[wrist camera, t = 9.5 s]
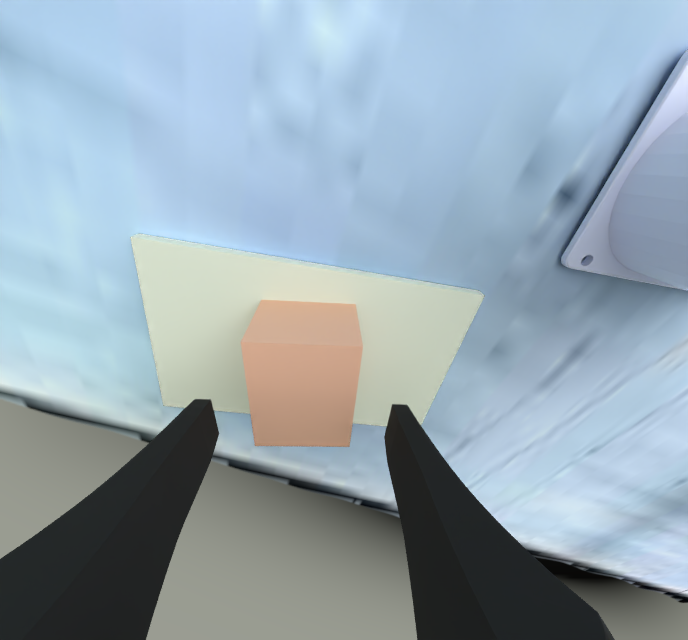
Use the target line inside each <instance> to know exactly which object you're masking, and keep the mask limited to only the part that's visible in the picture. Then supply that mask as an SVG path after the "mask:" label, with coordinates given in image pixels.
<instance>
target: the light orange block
mask: <svg viewBox="0 0 688 640" xmlns="http://www.w3.org/2000/svg"><path fill="white" fill-rule="evenodd" d="M241 349H242V356H243V363H244V370H245V378H246V385H247V392H248V399H249V406H250V414H251V421H252V428H253V435H254V442H255V446H322V447H349V446H350V438H351V431H352V424H353V416H354V409H355V402H356V394H357V387H358V380H359V373H360V365H361V358H362V351H363V343H362V338H361V332H360V326H359V321H358V315H357V309H356V304H342V303H321V302H300V301H280V300H261V301H260V303H259V306H258V308H257V310H256V312H255V314H254V316H253V318H252V320H251V322H250V324H249V326H248V328H247V330H246V332H245V334H244V336H243V338H242V340H241Z"/></svg>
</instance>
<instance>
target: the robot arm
mask: <svg viewBox="0 0 688 640" xmlns="http://www.w3.org/2000/svg"><path fill="white" fill-rule="evenodd" d="M585 256H586V258H585V260H584V261H583V262H581V261H582V259H583V258H584V257H585ZM561 263H562V264H563V265H564V266H566V267H568V268H570V269H575V270H581V271H586V272H591V273H597V274H602V275H607V276H612V277H618V278H623V279H628V280H634V281H639V282H644V283H650V284H655V285H660V286H665V287H671V288H676V289H681V290H687V291H688V49H687V50H686V51H685V53H684V54H683V55H682V57H681V58H680V60H679V61H678V63H677V65H676V66H675V68H674V70H673V71H672V73H671V75H670V76H669V78H668V80H667V81H666V83H665V85H664V86H663V88H662V90H661V91H660V93H659V95H658V96H657V98H656V100H655V102H654V103H653V105H652V107H651V108H650V110H649V112H648V113H647V115H646V117H645V118H644V120H643V122H642V123H641V125H640V127H639V128H638V130H637V132H636V133H635V135H634V137H633V138H632V140H631V142H630V143H629V145H628V147H627V148H626V150H625V152H624V153H623V155H622V157H621V158H620V160H619V162H618V163H617V165H616V167H615V168H614V170H613V172H612V173H611V175H610V177H609V178H608V180H607V182H606V183H605V185H604V187H603V188H602V190H601V192H600V193H599V195H598V197H597V198H596V200H595V202H594V203H593V205H592V207H591V208H590V210H589V212H588V213H587V215H586V217H585V218H584V220H583V222H582V223H581V225H580V227H579V228H578V230H577V232H576V233H575V235H574V237H573V238H572V240H571V242H570V243H569V245H568V247H567V248H566V250H565V252H564V253H563V255H562V258H561ZM218 435H219V432H218V427H217V423H216V419H215V414H214V410H213V406H212V401H211V399H194V400H193V401H192V402H191V403H190V404H189V405H188V406H187V407H186V408H185V409H184V410H183V411H182V412H181V413H180V414H179V415H178V416H177V417H176V418H175V419H174V420H173V421H172V422H171V423H170V424H169V425H168V426H167V427H166V428H165V429H164V430H163V431H161V432H160V433H159V434H158V435H157V436H156V437H155V438H154V439H153V440H152V441H151V442H150V443H149V444H148V445H147V446H146V447H145V448H144V449H142V450H141V451H140V452H139V453H138V454H137V455H136V456H135V457H133V458H132V459H131V460H130V461H129V462H128V463H127V464H125V465H124V466H123V467H122V468H121V469H120V470H119V471H118V472H116V473H115V474H114V475H113V476H112V477H110V478H109V479H108V480H107V481H106V482H104V483H103V484H102V485H101V486H100V487H98V488H97V489H96V490H95V491H93V492H92V493H91V494H90V495H88V496H87V497H86V498H85V499H83V500H82V501H81V502H79V503H78V504H77V505H76V506H74V507H73V508H72V509H70V510H69V511H68V512H66V513H65V514H64V515H62V516H61V517H60V518H58V519H57V520H55V521H54V522H53V523H52V524H50V525H48V526H47V527H46V528H44V529H43V530H42V531H40V532H39V533H38V534H36V535H35V536H33V537H32V538H31V539H29V540H28V541H26V542H25V543H23V544H22V545H20V546H19V547H17V548H16V549H14V550H13V551H11V552H10V553H9V554H7V555H5V556H4V557H3V558H1V559H0V640H146V637H147V634H148V630H149V627H150V623H151V620H152V617H153V613H154V610H155V607H156V604H157V601H158V597H159V594H160V591H161V588H162V585H163V582H164V579H165V575H166V572H167V569H168V566H169V563H170V560H171V557H172V554H173V552H174V549H175V545H176V542H177V540H178V537H179V534H180V532H181V529H182V527H183V524H184V522H185V519H186V517H187V515H188V513H189V510H190V508H191V506H192V504H193V501H194V499H195V496H196V494H197V492H198V490H199V487H200V485H201V483H202V480H203V478H204V476H205V473H206V471H207V468H208V466H209V464H210V461H211V459H212V455H213V452H214V449H215V446H216V442H217V439H218ZM384 437H385V446H386V454H387V462H388V467H389V471H390V476H391V480H392V485H393V489H394V493H395V498H396V502H397V506H398V511H399V515H400V519H401V524H402V529H403V534H404V540H405V547H406V554H407V561H408V567H409V575H410V582H411V590H412V597H413V605H414V614H415V622H416V630H417V639H418V640H614V638H613V636H612V634H611V633H610V631H609V630H608V628H607V627H606V625H605V623H604V622H603V620H602V619H601V617H600V616H599V614H598V612H597V611H595V610H594V609H593V608H592V607H591V606H589V605H588V604H587V603H586V602H585V601H583V600H582V599H581V598H580V597H579V596H578V595H576V594H575V593H574V592H573V591H572V590H571V589H569V588H568V587H567V586H566V585H565V584H563V583H562V582H561V581H560V580H559V579H558V578H556V577H555V576H554V575H553V574H552V573H551V572H549V570H547V569H546V568H545V567H544V566H543V565H542V564H541V563H540V562H539V561H538V560H537V559H535V558H534V557H533V556H532V555H531V554H530V553H529V552H528V551H527V550H526V549H525V548H524V547H523V546H522V545H521V544H520V543H519V542H518V541H517V540H516V539H515V538H514V537H513V536H512V535H511V534H510V533H509V532H508V531H507V530H506V529H505V528H504V527H503V526H502V525H501V524H500V523H499V522H498V521H497V520H496V519H495V518H494V517H493V516H492V515H491V514H490V513H489V512H488V511H487V510H486V509H485V508H484V506H483V505H482V504H481V503H480V502H479V501H478V500H477V499H476V498H475V496H474V495H473V494H472V493H471V492H470V491H469V490H468V488H467V487H466V486H465V485H464V484H463V482H462V481H461V480H460V479H459V477H458V476H457V475H456V474H455V472H454V471H453V470H452V469H451V467H450V466H449V465H448V463H447V462H446V461H445V459H444V458H443V457H442V455H441V454H440V453H439V451H438V450H437V449H436V447H435V446H434V444H433V443H432V442H431V440H430V439H429V437H428V436H427V434H426V433H425V431H424V430H423V428H422V427H421V425H420V424H419V422H418V421H417V419H416V417H415V416H414V414H413V413H412V411H411V410H410V408H409V406H408V405H405V404H392V407H391V411H390V415H389V419H388V424H387V428H386V432H385V436H384Z"/></svg>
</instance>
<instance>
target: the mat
mask: <svg viewBox="0 0 688 640" xmlns="http://www.w3.org/2000/svg"><path fill="white" fill-rule="evenodd" d="M130 238H131V243H132V248H133V253H134V258H135V263H136V268H137V273H138V278H139V283H140V289H141V294H142V299H143V304H144V309H145V314H146V319H147V324H148V329H149V334H150V340H151V345H152V350H153V355H154V360H155V365H156V370H157V375H158V380H159V385H160V391H161V396H162V401H163V406H170V407H181V408H186V407H187V406H188V405H189V404H190V403H191V402H192V401H193V400H194V399H211V401H212V406H213V410H214V411H224V412H235V413H246V414H250V406H249V399H248V392H247V385H246V378H245V370H244V363H243V356H242V349H241V340H242V338H243V336H244V334H245V332H246V330H247V328H248V326H249V324H250V322H251V320H252V318H253V316H254V314H255V312H256V310H257V308H258V306H259V303H260V301H261V300H280V301H300V302H321V303H342V304H356V309H357V315H358V321H359V326H360V332H361V338H362V343H363V351H362V358H361V365H360V373H359V380H358V387H357V394H356V402H355V409H354V416H353V423H355V424H365V425H376V426H387V424H388V419H389V415H390V411H391V407H392V404H405V405H408V406H409V408H410V410H411V411H412V413H413V414H414V416H415V417H416V419H417V421H418V422H419V424H420V425H421V424H422V422H423V420H424V418H425V416H426V414H427V412H428V410H429V408H430V406H431V404H432V402H433V400H434V398H435V396H436V394H437V392H438V390H439V388H440V386H441V384H442V382H443V380H444V378H445V376H446V374H447V372H448V369H449V367H450V365H451V363H452V361H453V359H454V357H455V355H456V353H457V351H458V349H459V347H460V345H461V343H462V341H463V339H464V337H465V335H466V333H467V331H468V329H469V327H470V325H471V323H472V321H473V319H474V317H475V315H476V313H477V311H478V308H479V306H480V304H481V302H482V300H483V298H484V296H485V295H483V294H482V293H481V292H480V291H478V290H472V289H466V288H460V287H454V286H448V285H443V284H437V283H431V282H425V281H419V280H413V279H407V278H401V277H395V276H389V275H383V274H377V273H371V272H365V271H359V270H353V269H347V268H341V267H335V266H330V265H324V264H318V263H312V262H306V261H300V260H294V259H288V258H282V257H276V256H270V255H264V254H258V253H252V252H246V251H240V250H234V249H228V248H222V247H217V246H211V245H205V244H199V243H193V242H187V241H181V240H175V239H169V238H163V237H157V236H151V235H145V234H137V235H134V236H131V237H130Z"/></svg>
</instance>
